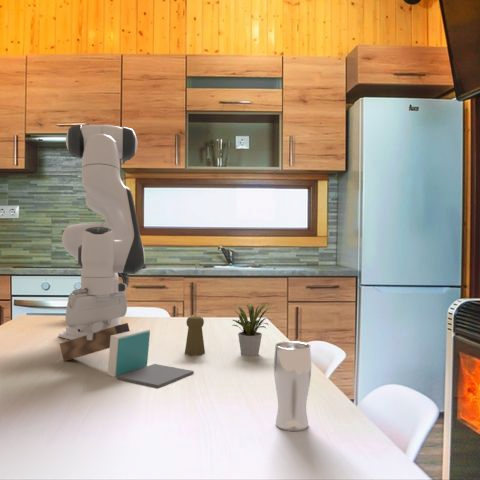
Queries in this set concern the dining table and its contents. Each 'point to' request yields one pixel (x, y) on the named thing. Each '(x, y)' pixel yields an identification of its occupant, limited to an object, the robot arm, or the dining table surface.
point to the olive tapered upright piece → (195, 336)
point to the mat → (155, 375)
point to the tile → (128, 351)
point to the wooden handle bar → (90, 342)
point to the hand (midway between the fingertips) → (97, 338)
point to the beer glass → (292, 384)
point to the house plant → (250, 330)
